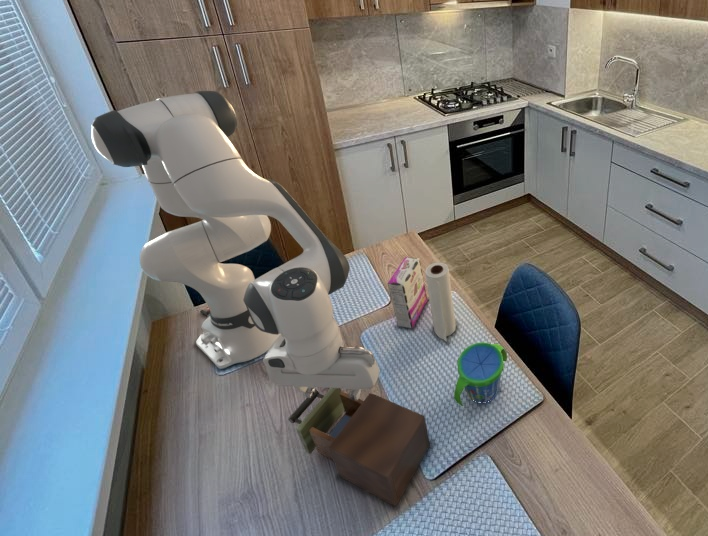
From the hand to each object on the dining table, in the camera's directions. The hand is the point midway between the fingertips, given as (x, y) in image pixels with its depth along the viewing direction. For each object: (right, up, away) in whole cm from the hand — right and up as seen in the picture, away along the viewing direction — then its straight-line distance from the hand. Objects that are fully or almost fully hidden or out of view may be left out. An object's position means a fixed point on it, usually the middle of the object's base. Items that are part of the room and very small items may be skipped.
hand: (332, 395), depth 80 cm
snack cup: (+29, -8, +16) cm, 34 cm away
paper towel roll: (+17, -1, +32) cm, 37 cm away
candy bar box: (+6, +2, +38) cm, 39 cm away
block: (+2, -12, +4) cm, 13 cm away
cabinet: (+10, -15, +3) cm, 18 cm away
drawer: (-2, -12, +7) cm, 14 cm away
